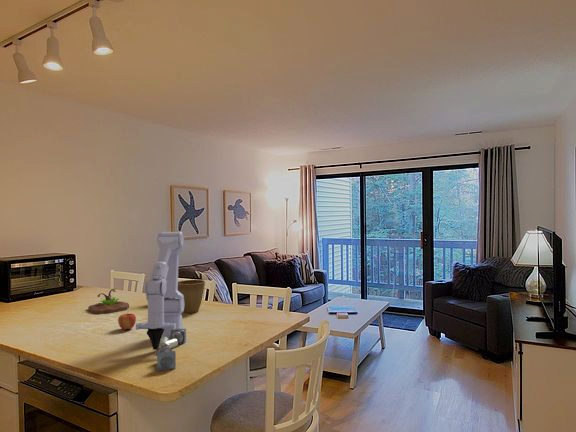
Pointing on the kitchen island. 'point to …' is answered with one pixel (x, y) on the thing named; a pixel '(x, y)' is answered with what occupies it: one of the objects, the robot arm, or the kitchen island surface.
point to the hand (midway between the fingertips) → (155, 348)
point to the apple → (127, 321)
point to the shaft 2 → (178, 335)
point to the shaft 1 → (166, 359)
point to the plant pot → (191, 294)
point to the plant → (108, 305)
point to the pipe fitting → (168, 342)
